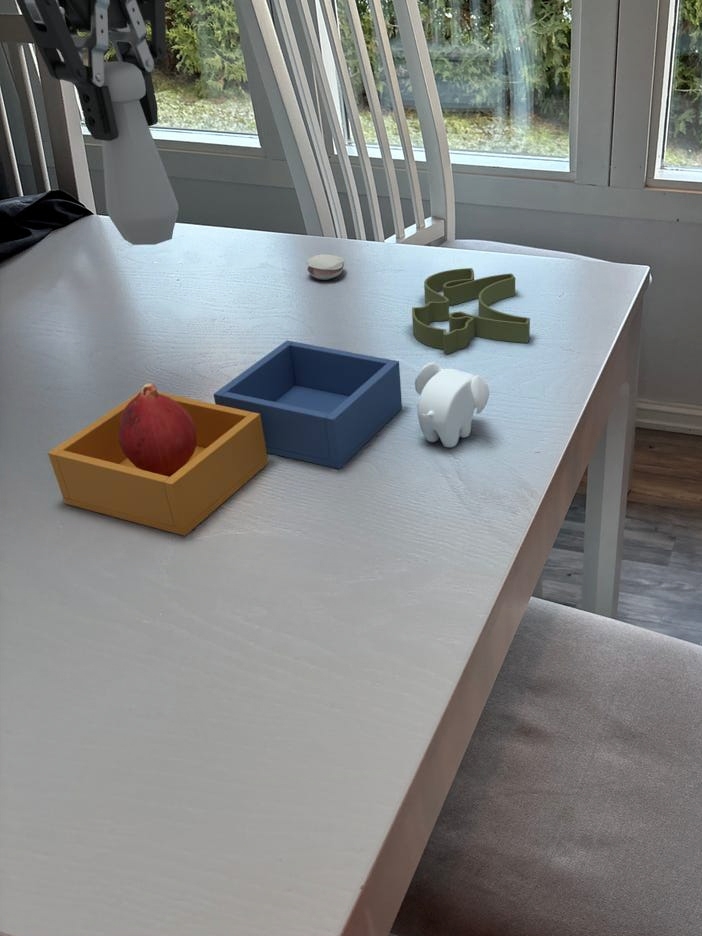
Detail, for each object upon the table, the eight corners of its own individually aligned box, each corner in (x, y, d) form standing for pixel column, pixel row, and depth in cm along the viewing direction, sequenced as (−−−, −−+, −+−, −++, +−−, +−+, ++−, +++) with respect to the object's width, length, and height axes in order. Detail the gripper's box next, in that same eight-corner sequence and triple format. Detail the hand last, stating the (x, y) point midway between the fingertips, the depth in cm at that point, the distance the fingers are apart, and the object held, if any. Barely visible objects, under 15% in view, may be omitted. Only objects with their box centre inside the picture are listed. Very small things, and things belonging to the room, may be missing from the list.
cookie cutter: (533, 350, 97) (534, 331, 95) (415, 355, 96) (414, 336, 95) (513, 284, 110) (513, 266, 109) (409, 288, 109) (408, 270, 108)
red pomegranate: (147, 503, 75) (121, 410, 69) (120, 472, 78) (94, 381, 73) (216, 479, 77) (196, 388, 72) (187, 450, 81) (166, 361, 75)
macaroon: (301, 278, 112) (298, 256, 110) (331, 265, 115) (328, 244, 113) (327, 286, 110) (325, 264, 108) (357, 273, 113) (355, 251, 111)
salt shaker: (108, 232, 83) (66, 60, 75) (174, 222, 85) (140, 54, 77) (122, 252, 79) (80, 73, 71) (190, 242, 81) (157, 67, 73)
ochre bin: (64, 503, 76) (46, 452, 73) (156, 436, 84) (143, 388, 81) (185, 536, 72) (171, 484, 69) (269, 463, 80) (260, 413, 77)
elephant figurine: (508, 426, 85) (509, 363, 81) (457, 466, 80) (455, 400, 76) (445, 407, 88) (443, 345, 84) (392, 444, 83) (388, 379, 79)
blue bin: (222, 442, 83) (212, 393, 80) (293, 386, 91) (286, 339, 88) (339, 469, 79) (333, 419, 76) (402, 408, 88) (399, 360, 84)
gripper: (92, -147, 72) (144, 108, 83) (-57, -141, 62) (25, 148, 73) (174, -145, 70) (216, 116, 81) (34, -138, 60) (104, 159, 71)
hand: (125, 130), depth 77 cm, fingers closed on salt shaker, 4 cm apart
